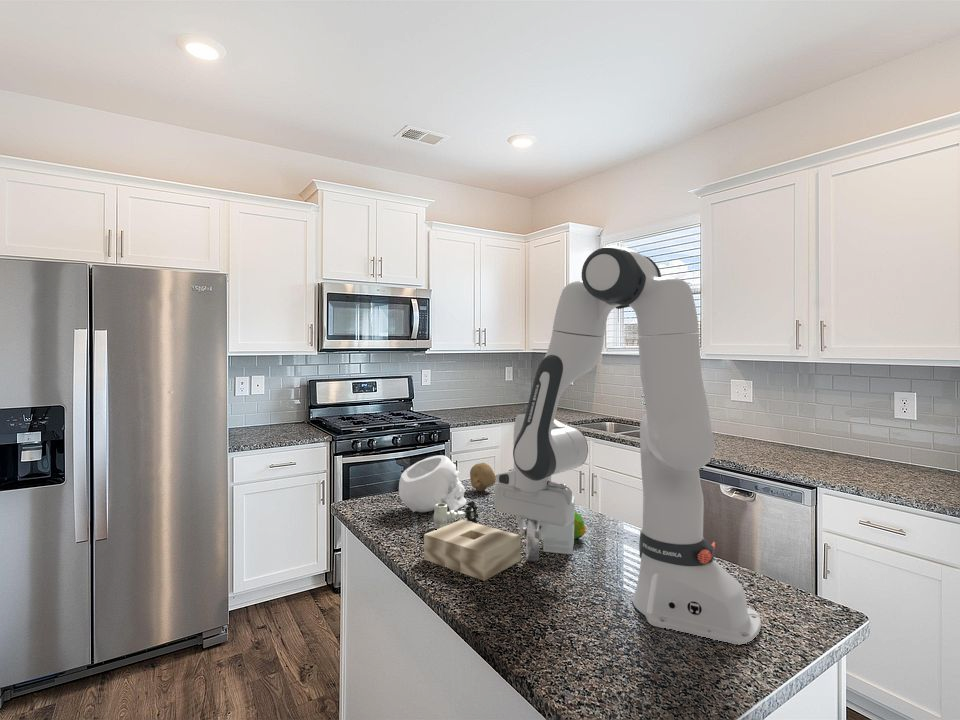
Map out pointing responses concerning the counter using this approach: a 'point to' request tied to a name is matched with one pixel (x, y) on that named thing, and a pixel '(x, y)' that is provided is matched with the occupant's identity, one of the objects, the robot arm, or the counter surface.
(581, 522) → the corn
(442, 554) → the hole block
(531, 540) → the steel peg
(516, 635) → the counter surface
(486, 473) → the potato
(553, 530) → the supplement box
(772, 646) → the counter surface
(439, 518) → the valve
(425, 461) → the skull planter
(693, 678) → the counter surface
